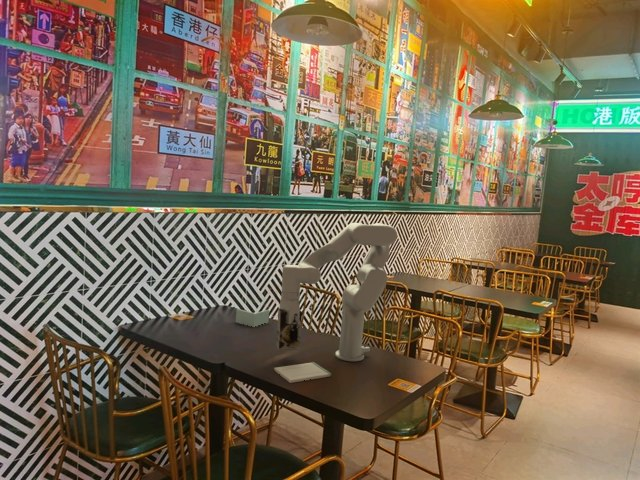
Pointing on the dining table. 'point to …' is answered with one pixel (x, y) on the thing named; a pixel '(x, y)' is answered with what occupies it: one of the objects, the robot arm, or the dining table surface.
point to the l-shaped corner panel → (252, 317)
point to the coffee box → (287, 333)
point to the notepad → (302, 372)
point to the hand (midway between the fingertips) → (288, 336)
